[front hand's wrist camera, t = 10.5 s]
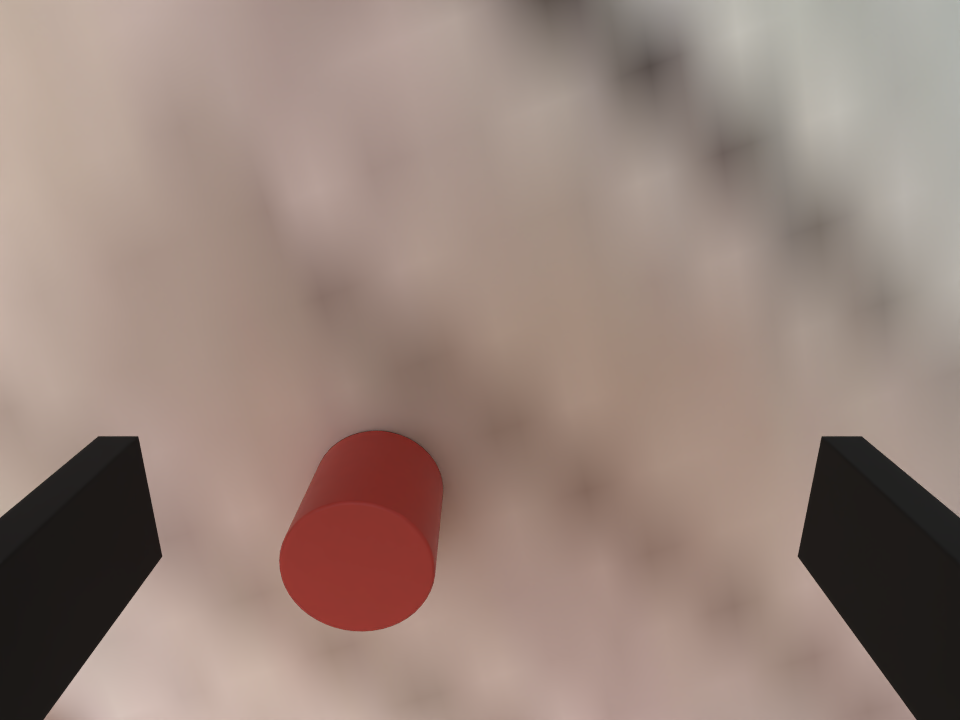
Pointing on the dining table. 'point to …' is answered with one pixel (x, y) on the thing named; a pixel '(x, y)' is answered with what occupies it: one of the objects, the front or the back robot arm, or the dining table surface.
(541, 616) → the dining table surface
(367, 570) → the canister
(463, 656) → the dining table surface
